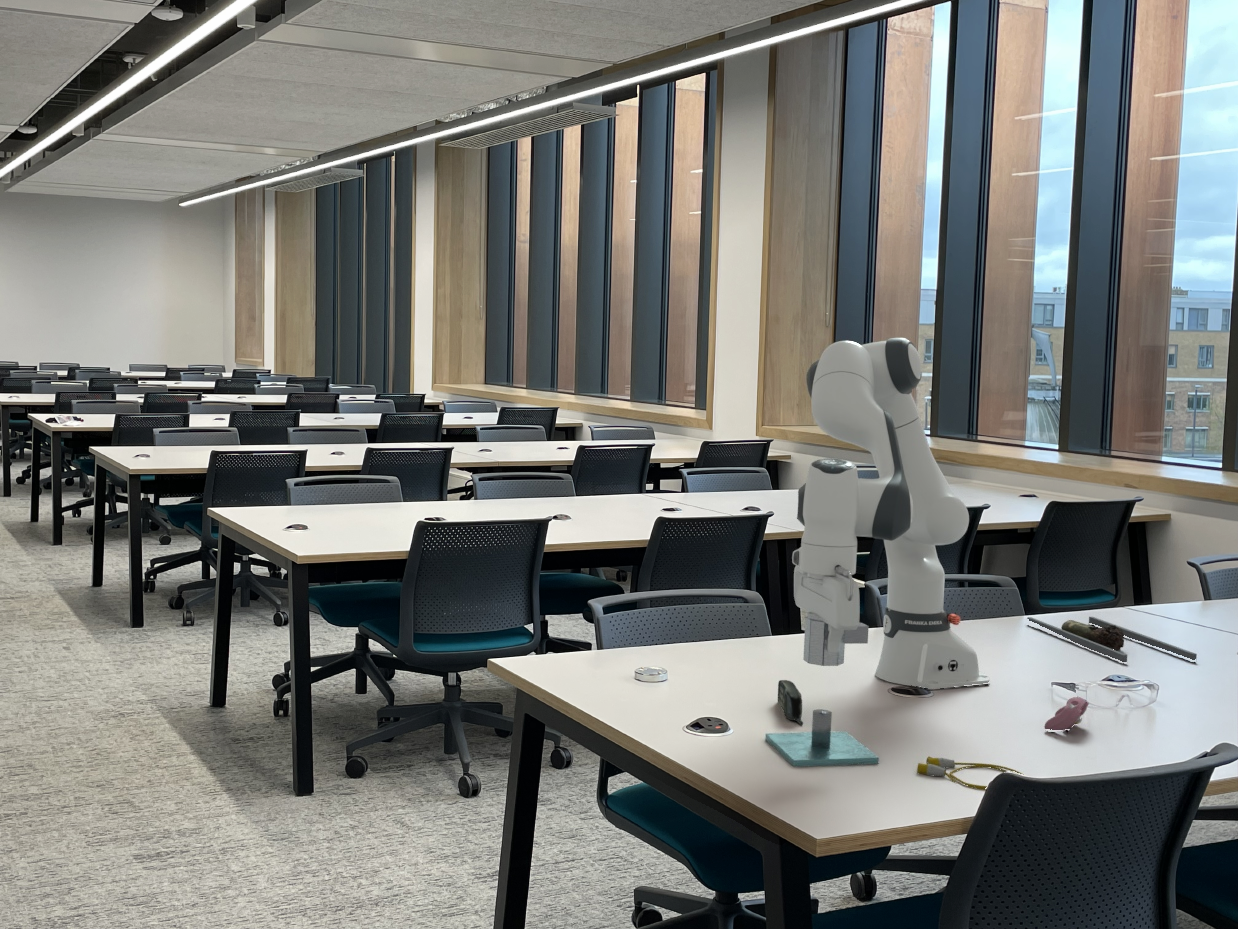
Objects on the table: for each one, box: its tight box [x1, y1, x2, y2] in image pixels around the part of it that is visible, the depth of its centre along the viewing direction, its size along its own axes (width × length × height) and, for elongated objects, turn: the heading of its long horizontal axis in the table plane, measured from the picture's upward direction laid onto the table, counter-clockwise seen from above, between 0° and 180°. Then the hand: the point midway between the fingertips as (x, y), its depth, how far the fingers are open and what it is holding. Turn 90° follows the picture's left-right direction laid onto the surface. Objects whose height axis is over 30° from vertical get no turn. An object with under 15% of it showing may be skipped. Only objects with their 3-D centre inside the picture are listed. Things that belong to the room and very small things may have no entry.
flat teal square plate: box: [765, 708, 880, 767], centre depth 200 cm, size 14×14×6 cm
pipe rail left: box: [1026, 616, 1128, 663], centre depth 289 cm, size 1×40×2 cm, turn 11°
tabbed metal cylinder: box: [802, 612, 870, 667], centre depth 199 cm, size 10×6×8 cm, turn 101°
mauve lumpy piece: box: [1043, 696, 1090, 731], centre depth 218 cm, size 10×5×7 cm, turn 149°
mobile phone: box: [777, 679, 804, 726], centre depth 222 cm, size 5×3×15 cm
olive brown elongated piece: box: [1060, 619, 1125, 651], centre depth 288 cm, size 18×7×6 cm, turn 17°
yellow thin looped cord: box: [916, 756, 1023, 791], centre depth 191 cm, size 12×16×2 cm
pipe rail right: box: [1088, 616, 1198, 660], centre depth 292 cm, size 1×40×2 cm, turn 11°
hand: (823, 646), depth 199 cm, fingers closed on tabbed metal cylinder, 6 cm apart
